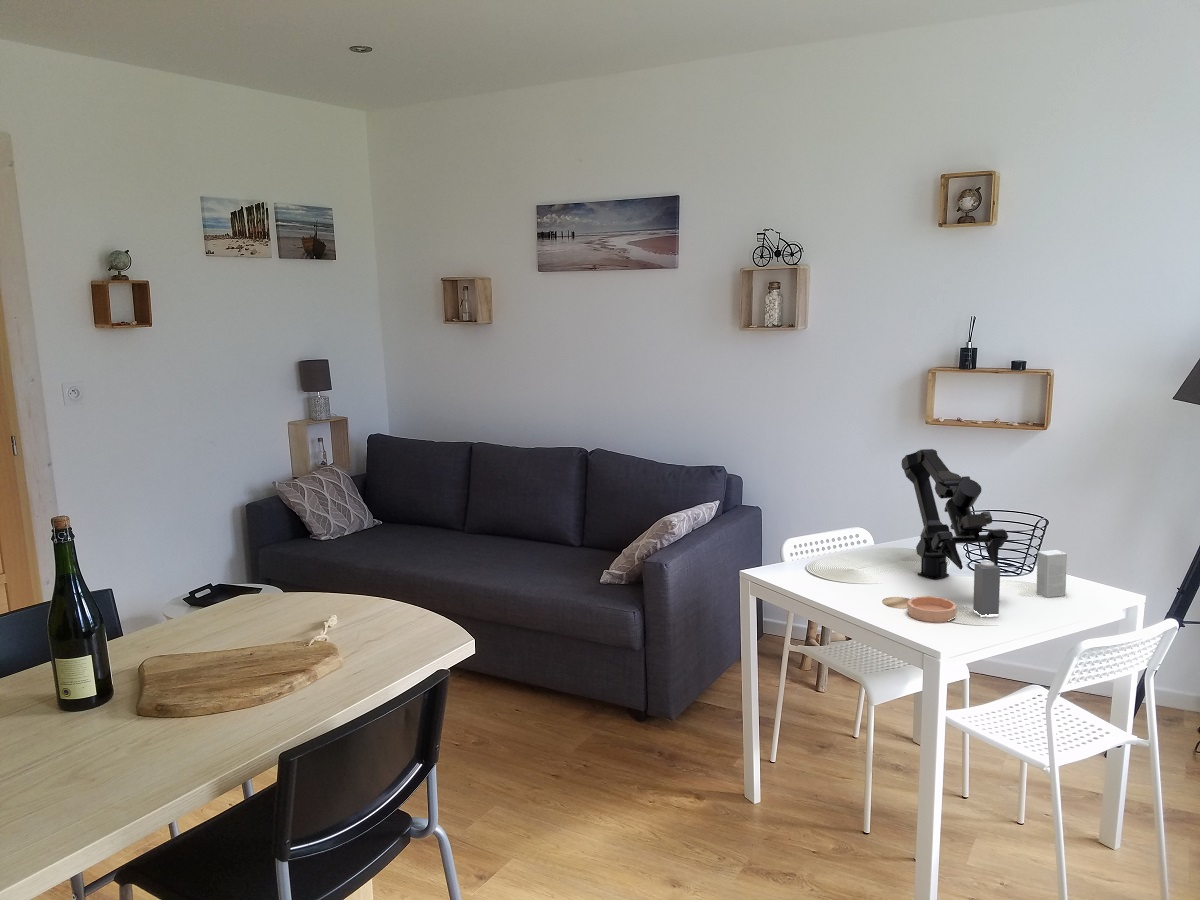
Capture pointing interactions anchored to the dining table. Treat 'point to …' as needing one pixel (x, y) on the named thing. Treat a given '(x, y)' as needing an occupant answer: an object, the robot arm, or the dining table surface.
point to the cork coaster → (896, 602)
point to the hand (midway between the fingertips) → (978, 567)
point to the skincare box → (1051, 573)
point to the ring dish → (931, 609)
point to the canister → (986, 588)
